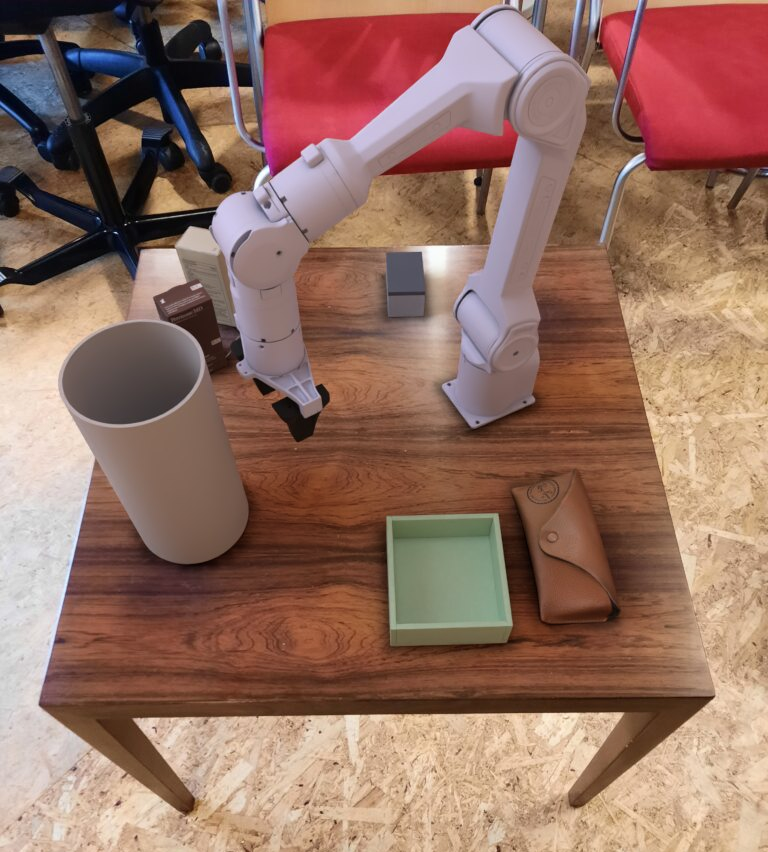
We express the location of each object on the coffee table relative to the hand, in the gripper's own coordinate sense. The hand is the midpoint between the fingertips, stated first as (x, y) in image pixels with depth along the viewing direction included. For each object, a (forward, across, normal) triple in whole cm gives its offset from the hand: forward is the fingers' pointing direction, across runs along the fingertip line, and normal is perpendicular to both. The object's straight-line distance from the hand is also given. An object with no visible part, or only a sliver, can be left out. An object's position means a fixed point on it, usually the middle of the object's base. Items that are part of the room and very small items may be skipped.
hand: (286, 413), depth 80 cm
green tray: (+10, +23, +6) cm, 26 cm away
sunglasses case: (+10, +26, +19) cm, 34 cm away
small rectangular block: (+10, -17, +27) cm, 34 cm away
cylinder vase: (+10, 0, -13) cm, 17 cm away
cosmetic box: (+10, -28, +4) cm, 31 cm away
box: (+10, -21, -2) cm, 24 cm away
